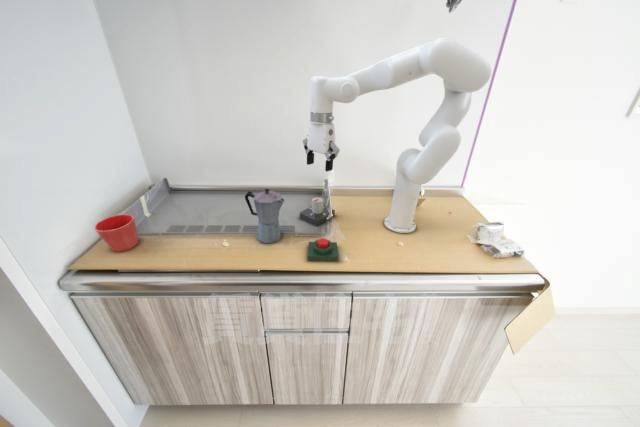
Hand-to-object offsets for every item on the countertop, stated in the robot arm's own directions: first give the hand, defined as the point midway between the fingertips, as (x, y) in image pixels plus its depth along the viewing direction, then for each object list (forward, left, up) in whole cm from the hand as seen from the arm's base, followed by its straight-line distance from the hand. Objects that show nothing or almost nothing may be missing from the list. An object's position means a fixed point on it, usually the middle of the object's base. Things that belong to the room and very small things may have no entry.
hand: (319, 167), depth 89 cm
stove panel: (-4, -4, -24) cm, 25 cm away
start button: (+14, +14, -21) cm, 29 cm away
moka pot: (+20, -8, -25) cm, 33 cm away
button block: (+14, +14, -24) cm, 32 cm away
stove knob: (-4, -4, -21) cm, 22 cm away
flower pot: (+57, -42, -25) cm, 75 cm away
